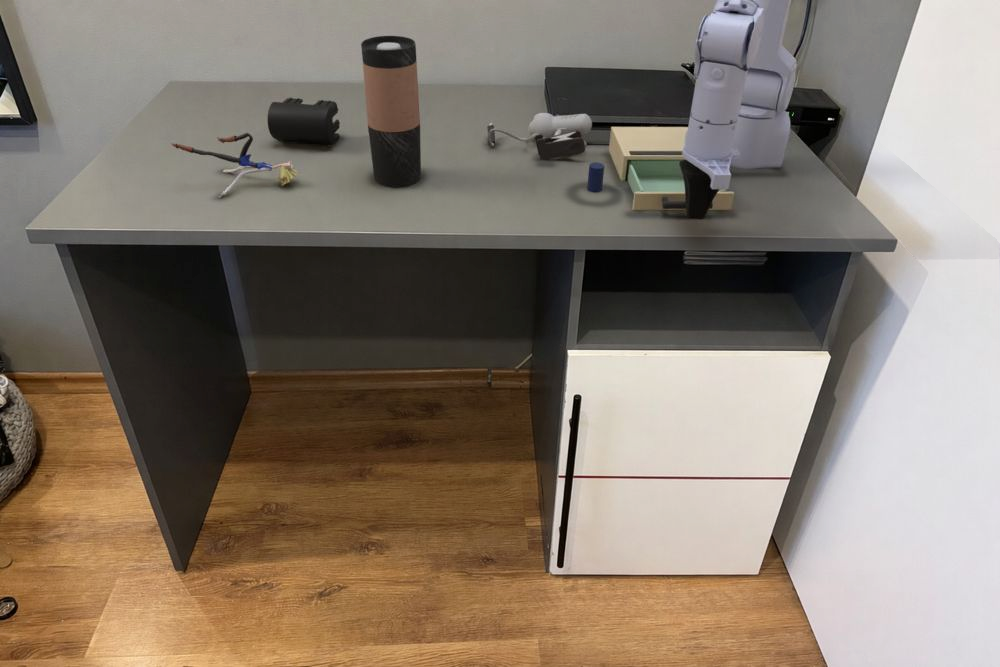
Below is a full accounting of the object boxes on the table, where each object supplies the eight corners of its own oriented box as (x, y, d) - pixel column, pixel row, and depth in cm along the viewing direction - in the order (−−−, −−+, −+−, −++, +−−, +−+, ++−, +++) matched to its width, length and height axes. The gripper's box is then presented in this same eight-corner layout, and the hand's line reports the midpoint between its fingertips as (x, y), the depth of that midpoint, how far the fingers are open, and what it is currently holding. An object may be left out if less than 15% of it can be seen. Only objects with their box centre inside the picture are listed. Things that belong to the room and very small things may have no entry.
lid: (613, 184, 115) (616, 156, 112) (620, 204, 109) (624, 175, 107) (568, 184, 114) (570, 156, 112) (574, 204, 109) (576, 175, 106)
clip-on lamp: (479, 173, 124) (585, 163, 118) (469, 137, 121) (579, 126, 115) (497, 141, 133) (597, 130, 127) (489, 107, 129) (592, 94, 123)
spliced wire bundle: (298, 236, 114) (162, 199, 110) (313, 195, 119) (183, 159, 115) (302, 190, 105) (155, 149, 102) (318, 148, 110) (178, 108, 107)
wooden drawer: (708, 178, 117) (711, 159, 115) (735, 221, 105) (739, 201, 103) (618, 178, 116) (620, 159, 114) (635, 221, 104) (638, 201, 102)
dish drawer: (691, 154, 125) (697, 125, 122) (711, 185, 115) (717, 155, 112) (608, 154, 124) (611, 125, 121) (620, 185, 114) (624, 154, 112)
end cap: (271, 148, 124) (264, 108, 120) (287, 132, 130) (281, 93, 126) (329, 153, 123) (324, 112, 119) (343, 137, 128) (339, 97, 124)
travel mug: (430, 171, 117) (425, 38, 106) (410, 191, 112) (401, 52, 100) (386, 164, 119) (376, 33, 108) (363, 183, 114) (350, 46, 102)
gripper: (764, 139, 87) (740, 243, 94) (729, 97, 98) (710, 193, 106) (704, 138, 86) (685, 243, 94) (676, 97, 98) (661, 193, 106)
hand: (695, 216), depth 100 cm, fingers closed
